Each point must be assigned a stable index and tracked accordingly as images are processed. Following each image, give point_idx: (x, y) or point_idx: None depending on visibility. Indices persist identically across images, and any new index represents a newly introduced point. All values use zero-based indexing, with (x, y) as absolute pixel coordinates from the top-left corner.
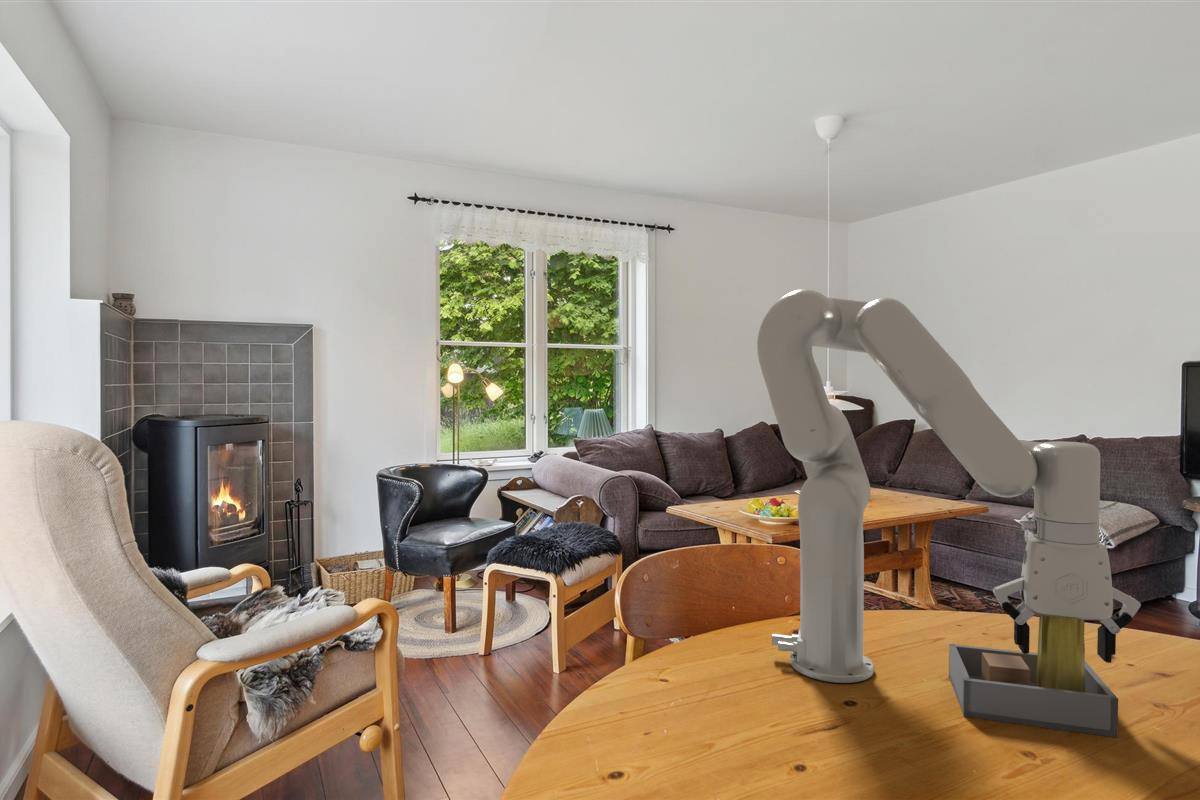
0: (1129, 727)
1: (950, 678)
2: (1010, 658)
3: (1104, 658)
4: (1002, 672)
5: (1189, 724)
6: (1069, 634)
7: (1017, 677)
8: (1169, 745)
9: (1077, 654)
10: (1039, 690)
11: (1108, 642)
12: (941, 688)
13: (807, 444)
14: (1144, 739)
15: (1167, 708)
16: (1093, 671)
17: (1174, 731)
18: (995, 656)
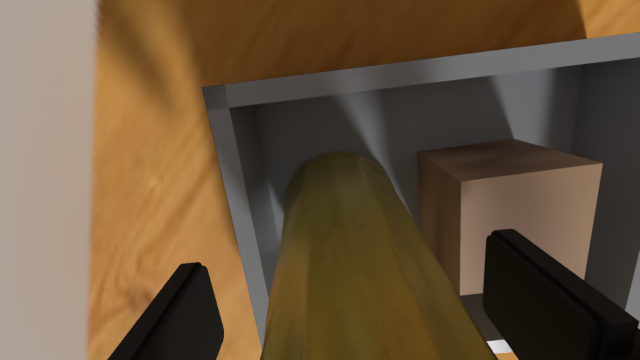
0: (207, 160)
1: None
2: None
3: (202, 274)
4: (541, 164)
5: (92, 231)
6: (353, 298)
7: (486, 165)
8: (134, 97)
9: (306, 243)
10: (449, 57)
11: (147, 324)
12: None
13: None
14: (182, 106)
15: (128, 292)
16: (251, 293)
17: (120, 181)
18: None
